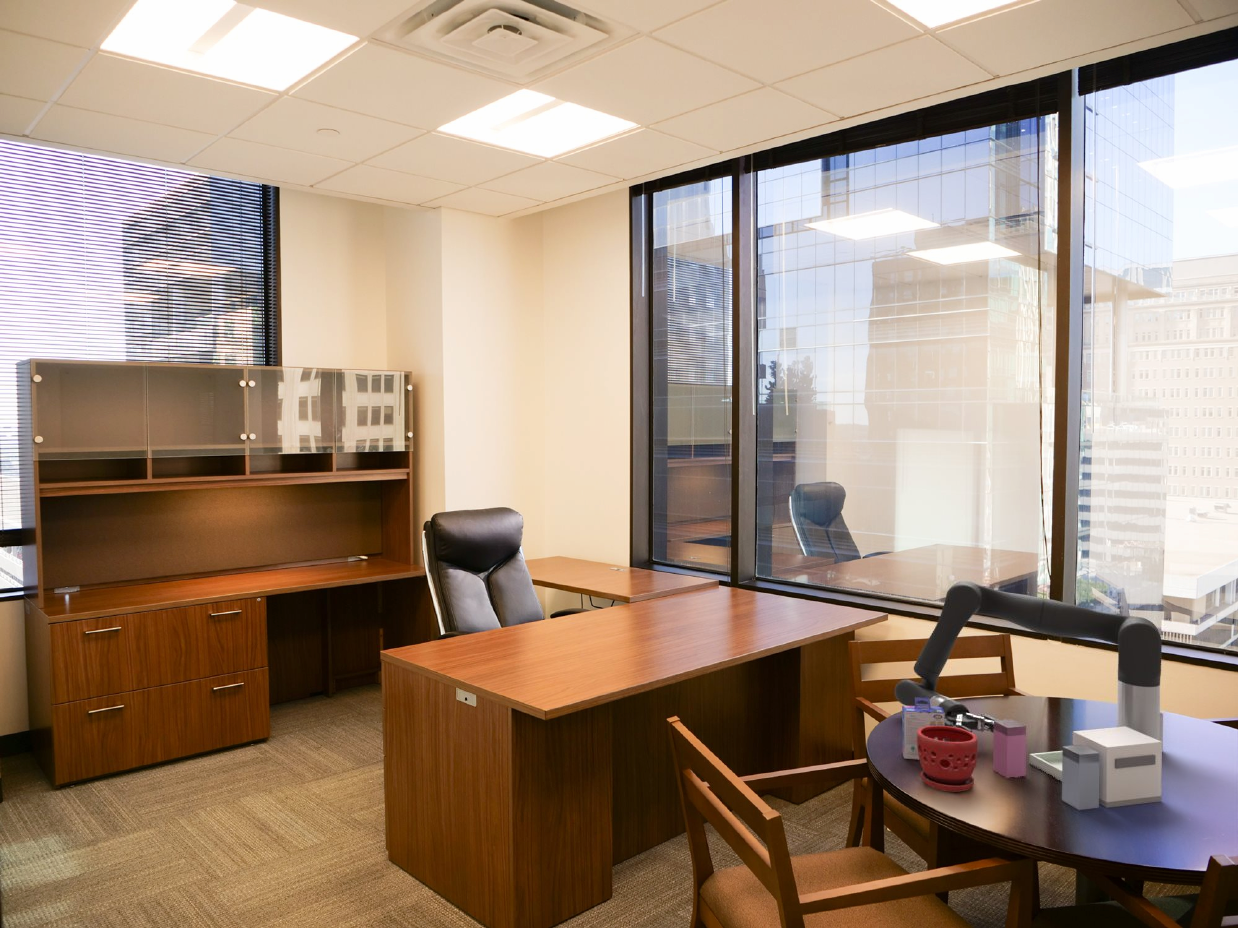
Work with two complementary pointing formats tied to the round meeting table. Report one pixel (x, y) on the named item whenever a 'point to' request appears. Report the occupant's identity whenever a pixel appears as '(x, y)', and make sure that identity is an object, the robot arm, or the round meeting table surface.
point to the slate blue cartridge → (1080, 777)
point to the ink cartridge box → (918, 724)
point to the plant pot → (947, 757)
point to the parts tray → (1048, 763)
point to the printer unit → (1125, 765)
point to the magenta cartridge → (1009, 748)
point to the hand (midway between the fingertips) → (986, 733)
